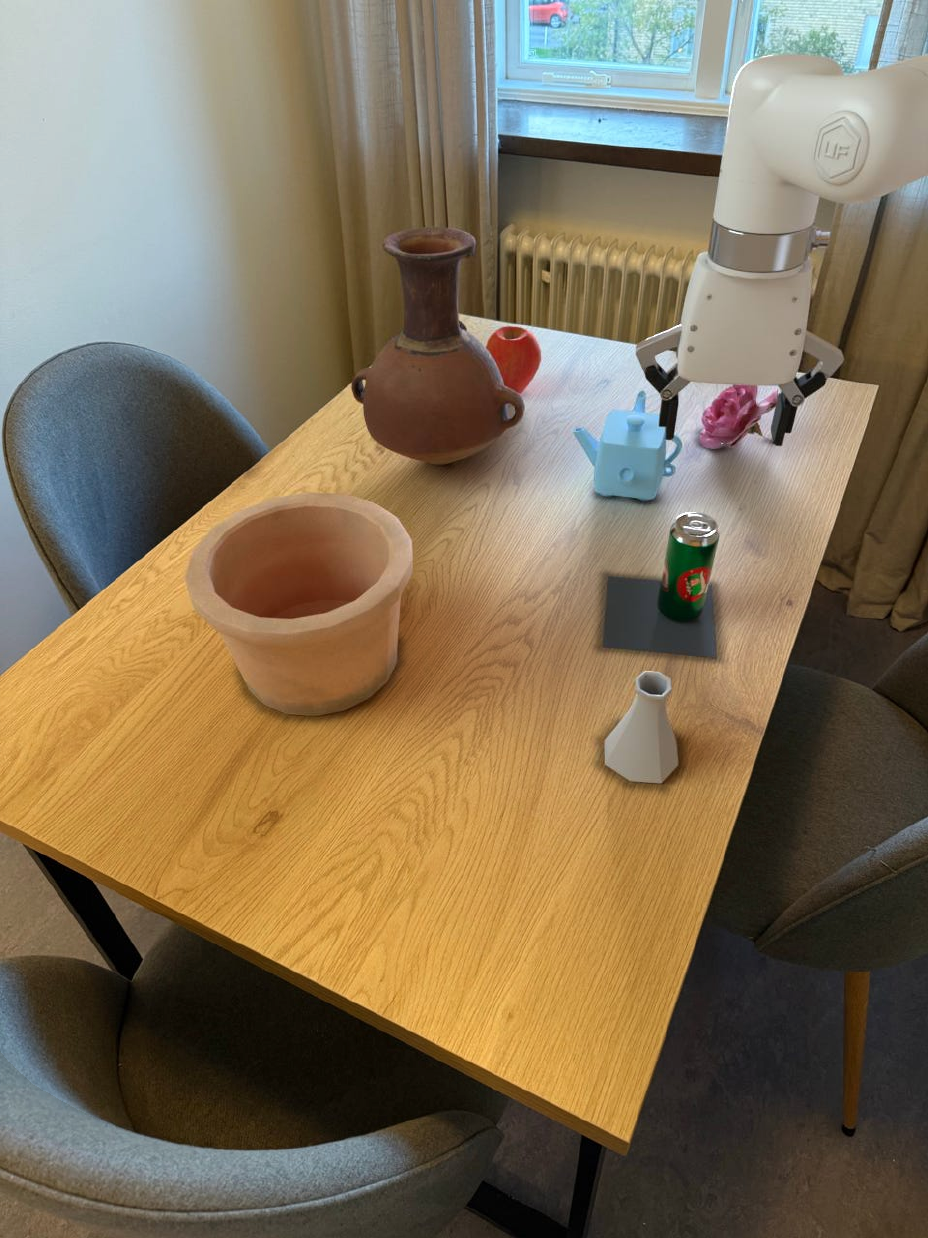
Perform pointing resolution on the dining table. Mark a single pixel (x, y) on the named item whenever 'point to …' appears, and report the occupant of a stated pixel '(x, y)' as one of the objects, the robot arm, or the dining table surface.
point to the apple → (515, 356)
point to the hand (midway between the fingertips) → (721, 435)
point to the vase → (434, 361)
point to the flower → (734, 416)
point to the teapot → (629, 453)
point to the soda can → (687, 566)
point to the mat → (653, 621)
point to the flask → (644, 734)
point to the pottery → (306, 597)
